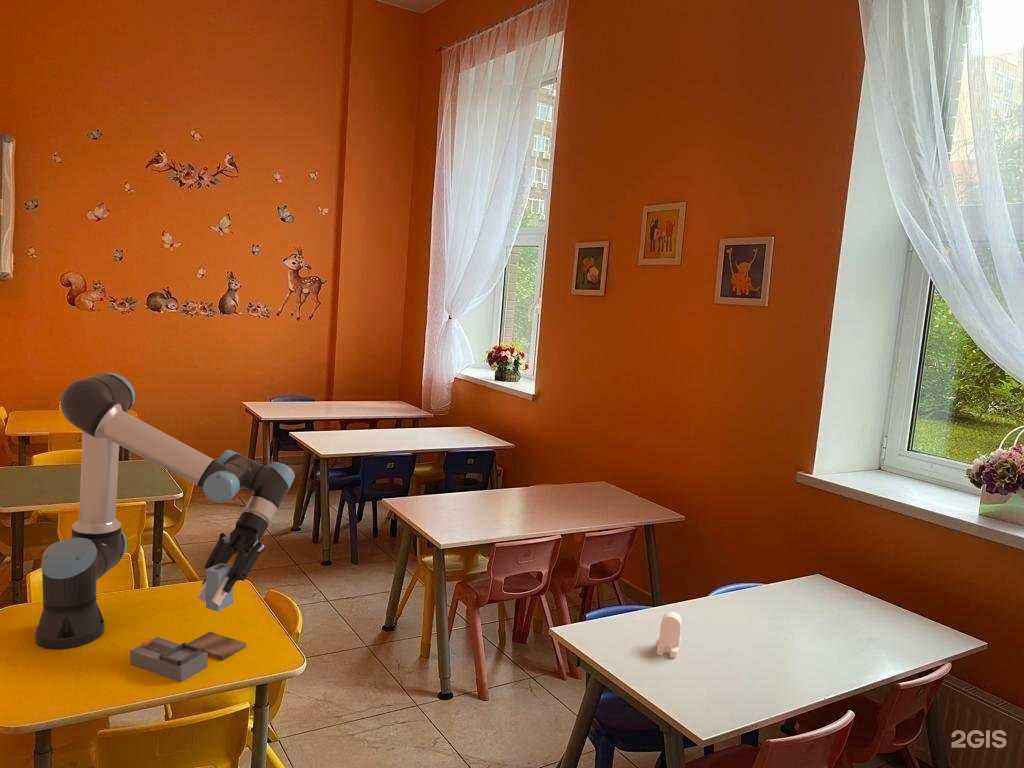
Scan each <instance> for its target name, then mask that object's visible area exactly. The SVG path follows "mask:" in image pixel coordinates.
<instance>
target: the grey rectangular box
mask: <svg viewBox="0 0 1024 768" xmlns="http://www.w3.org/2000/svg"><path fill="white" fill-rule="evenodd" d="M187 643H188V642H182V643H178V642H175V641H172V640H169V639H166V638H163V637H160V636H156V637H155V638H153V639H151V638H148V639H146V640H144V641H141V642H140V644H141V645H138V646H136V647H134V648H132V649H130V650H129V665H131V666H134V667H136V668H140V669H143V670H145V671H147V672H151V673H153V674H157V675H159V676H162V677H166V678H168V679H171V680H174V681H176V682H180V683H182V682H185V681H186V680H188V679H190V678H191V677H192V676H195V675H196V674H198V673H199V672H202V671H203V670H205V669H206V668H208V657H209V656H208V653H206V652H204V649H202V648H199V647H196V646H193V645H190V644H187Z"/></svg>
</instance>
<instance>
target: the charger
mask: <svg viewBox="0 0 1024 768" xmlns="http://www.w3.org/2000/svg"><path fill="white" fill-rule="evenodd" d="M232 567H233V565H231V564H228V563H226V564H224V563H219V564H217V565H215V566H212V567H210V568H208V569H206V568H205V578H206V601H205V608H206V609H208V610H212V611H214V612H220V611H222V610H224V609H226V608H228V607H230V606H232V605H233V604H234V586H233V587H232V589H231V591H230V592H229V593H227V594H226V596H225V597H224V599H223V601H222V603H221V605H220V606H217V605H216V604H215V603H213V602H212V599H213V597H214V596H215V594H216V592H217V590H218V589H219V587H220V585H221V583H222V582H223V580H224V578H225V576H226V577H228V578H229V576H228V574H230V572H231V569H232Z"/></svg>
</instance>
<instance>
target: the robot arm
mask: <svg viewBox="0 0 1024 768" xmlns="http://www.w3.org/2000/svg"><path fill="white" fill-rule="evenodd" d="M135 398H136V393H135V389H134V386H133V385H132V383H131V382H130V381H129V380H128V379H127V378H126V377H124V376H122V375H120V374H119V373H114V372H104V373H103V372H101V373H100V372H99V373H96V374H94V375H92V376H89V377H85V378H82V379H78V380H75V381H73V382H71V383H70V384H68V385H67V387H65V388H64V390H63V391H62V394H61V396H60V401H59V406H60V409H61V413H62V415H63V416H64V417H65V419H66V420H67V421H68V422H69V424H71V425H72V426H75V427H76V428H77V429H79V430H81V432H82V441H81V442H82V443H81V444H82V445H81V446H82V447H81V465H80V467H81V468H80V489H79V490H80V491H79V506H78V507H79V510H78V511H79V513H78V514H79V515H78V519H77V521H75V522H74V523H72V525H71V537H70V538H66V539H63V540H61V541H60V540H59V541H56V542H54V543H52V544H50V545H49V546H48V547H47V548H45V549H44V552H43V554H42V561H41V571H42V572H41V574H42V575H41V576H42V577H41V578H42V610H41V611H42V612H41V615H40V617H39V621H38V623H37V626H36V629H35V634H34V637H35V638H34V639H35V643H36V644H37V645H38V646H41V647H43V648H46V649H69V648H75V647H80V646H83V645H86V644H89V643H92V642H94V641H95V640H97V639H99V638H100V637H101V636H102V635H103V634H104V633H105V619H104V617H103V614H102V612H101V610H100V607H99V604H98V602H97V582H98V581H99V579H101V578H102V577H103V576H104V575H106V574H107V573H108V572H109V571H110V570H112V569H113V568H114V567H115V566H117V565H118V564H119V563H120V561H121V560H122V559H123V557H124V556H125V553H127V552H126V551H127V547H128V541H127V537H126V535H125V533H124V532H123V531H122V523H121V521H119V519H117V518H116V513H117V494H118V493H117V492H118V476H119V475H118V474H119V459H120V458H119V454H120V446H121V447H122V448H125V449H126V450H128V451H130V452H131V453H133V454H135V455H137V456H140V457H141V458H143V459H145V460H147V461H149V462H150V463H152V464H154V465H156V466H158V467H160V468H162V469H164V470H166V471H168V472H170V473H172V474H174V475H175V476H177V477H180V478H181V479H183V480H185V481H187V482H189V483H191V484H193V485H194V486H196V487H198V488H200V489H202V490H203V493H204V495H205V497H206V498H207V499H208V500H209V501H211V502H213V503H216V504H217V503H220V504H221V503H225V502H227V501H229V500H230V499H232V498H233V497H235V496H236V495H237V494H238V493H239V491H240V490H241V489H244V490H247V491H250V492H252V495H251V497H250V498H249V500H248V502H247V503H246V505H245V506H244V508H243V511H244V512H243V511H242V512H241V514H240V516H238V519H237V520H236V522H235V528H234V529H233V530H231V531H230V533H226V534H225V533H224V532H221V533H220V534H219V537H218V540H217V542H216V544H215V546H214V548H213V550H212V552H211V553H210V555H209V557H208V559H207V560H206V561H205V564H204V566H203V567H204V569H205V570H206V569H208V568H210V567H212V566H215V565H217V564H219V563H224V564H228V562H229V561H230V560H231V558H232V556H234V555H236V556H235V558H234V562H233V565H232V566H233V567H232V569H231V572H230V574H228V576H229V578H228V577H226V576H225V578H224V580H223V582H222V583H221V585H220V587H219V589H218V590H217V592H216V594H215V596H214V597H213V599H212V602H213V603H215V604H216V605H217V606H220V605H221V603H222V601H223V599H224V597H225V596H226V594H227V593H229V592H230V591H231V589H232V587H233V588H234V585H235V584H236V583H237V582H238V581H241V582H244V581H245V580H246V578H247V576H249V574H250V572H251V570H252V568H253V567H254V565H255V563H256V562H257V560H258V558H259V557H260V555H261V554H262V553H264V551H265V550H266V547H267V546H265V545H264V543H262V542H261V538H262V537H263V536H264V534H265V533H266V532H267V529H268V528H269V523H271V521H272V520H273V518H274V516H275V515H276V512H277V511H278V510H279V507H280V505H281V504H282V502H283V500H284V499H285V497H286V495H287V494H288V492H289V490H290V488H291V486H292V485H293V483H294V480H295V477H296V475H295V472H294V470H293V469H292V468H291V467H290V466H288V465H286V464H285V463H280V462H277V461H273V462H271V463H270V464H269V465H268V466H267V465H263V464H261V463H260V462H258V461H256V460H253V459H251V458H249V457H247V456H245V455H243V454H242V453H240V452H236V451H234V450H231V449H226V450H224V451H223V452H222V454H221V455H220V456H219V458H218V460H216V459H214V458H212V457H211V456H209V455H207V454H204V453H203V452H201V451H199V450H197V449H195V448H193V447H191V446H189V445H188V444H186V443H183V442H182V441H181V440H179V439H176V438H175V437H172V436H171V435H168V434H167V433H165V432H163V431H161V430H159V429H158V428H157V427H154V426H152V425H150V424H148V423H146V422H145V421H143V420H141V419H139V418H137V417H135V416H133V415H132V414H130V413H129V411H130V410H131V408H133V405H134V403H135V400H136V399H135ZM196 598H197V599H199V600H200V601H202V602H204V603H206V577H204V579H203V581H202V586H201V588H200V589H199V592H198V594H196Z"/></svg>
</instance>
